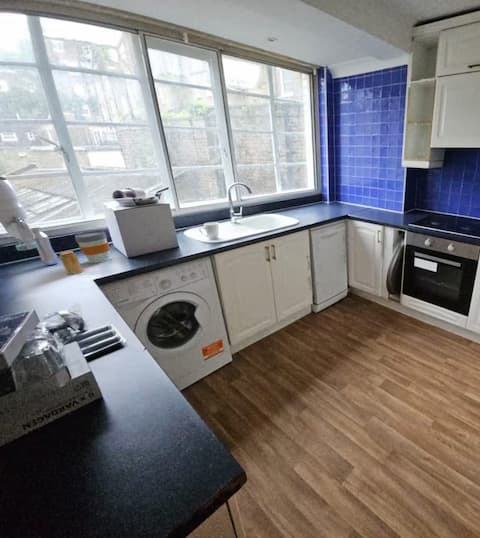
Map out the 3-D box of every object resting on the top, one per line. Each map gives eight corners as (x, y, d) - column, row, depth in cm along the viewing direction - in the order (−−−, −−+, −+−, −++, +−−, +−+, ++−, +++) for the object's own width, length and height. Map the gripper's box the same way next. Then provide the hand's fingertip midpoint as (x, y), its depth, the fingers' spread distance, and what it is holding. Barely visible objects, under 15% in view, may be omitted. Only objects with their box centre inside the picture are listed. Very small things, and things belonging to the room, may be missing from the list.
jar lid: (39, 247, 129) (37, 243, 128) (19, 251, 124) (17, 247, 123) (35, 245, 132) (33, 241, 131) (15, 249, 127) (13, 245, 126)
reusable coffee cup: (85, 266, 154) (73, 239, 148) (85, 260, 162) (74, 234, 157) (115, 260, 161) (105, 233, 155) (113, 254, 170) (104, 229, 164)
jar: (67, 275, 143) (57, 255, 139) (67, 272, 147) (58, 252, 143) (82, 272, 146) (74, 252, 142) (83, 268, 151) (74, 249, 146)
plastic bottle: (52, 266, 155) (35, 229, 147) (40, 266, 155) (21, 230, 147) (64, 261, 161) (47, 226, 153) (52, 262, 161) (35, 226, 153)
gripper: (29, 216, 120) (45, 248, 125) (15, 212, 129) (29, 242, 135) (7, 220, 115) (24, 253, 120) (-7, 215, 124) (10, 246, 130)
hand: (27, 247), depth 128 cm, fingers closed on jar lid, 6 cm apart
